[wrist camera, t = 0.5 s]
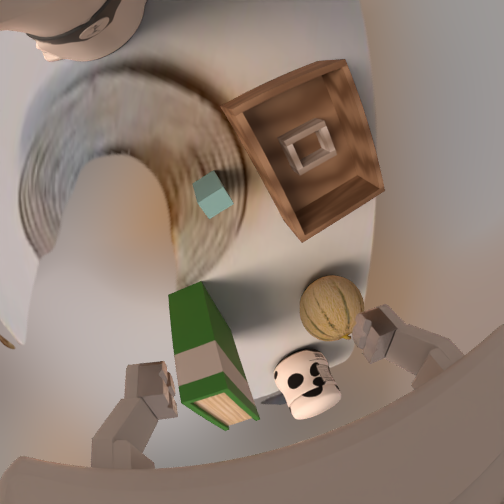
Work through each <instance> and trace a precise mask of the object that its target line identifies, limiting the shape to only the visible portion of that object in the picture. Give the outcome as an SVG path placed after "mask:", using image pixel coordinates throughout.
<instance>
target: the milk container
mask: <svg viewBox="0 0 504 504" xmlns="http://www.w3.org/2000/svg"><path fill="white" fill-rule="evenodd" d="M274 379H275V383H276V385H277V387H278V388H279V389H280V391H281V392H282V393H283V395H284V396H285V399H286V401H287V404H288V407H289V409H290V411H291V413H292V415H293V416H294V418H295V419H306V418H310V417H313V416H316V415H318V414H320V413H322V412H324V411H326V410H328V409H329V408H331V407H332V406H334V405H335V404H336V403H337V402H338V401H340V399H341V393H340V390H339V388H338V386H337V384H336V382H335V380H334V379H333V377H332V375H331V373H330V370H329V365H328V362H327V360H326V358H325V357H324V355H323V354H322V353H321V352H320V351H318V350H315V349H306V350H301V351H298V352H296V353H293V354H291V355H289V356H287V357H286V358H284V359H283V360H282V361H281V362H280V363H279V364H278V365H277V366H276V368H275V370H274Z"/></svg>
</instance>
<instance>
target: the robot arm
mask: <svg viewBox="0 0 504 504" xmlns="http://www.w3.org/2000/svg"><path fill="white" fill-rule="evenodd" d="M146 1H147V0H0V31H2V30H10V31H17V32H23V33H26V34H27V35H28V36H29V37H31V38H32V39H34V40H35V41H36V43H37V44H36V47H37V48H38V49H39V50H41V51H42V52H43V55H44V58H45V60H47V61H49V62H53V61H58V60H61V59H70V60H74V61H91V60H95V59H99V58H102V57H104V56H106V55H108V54H110V53H112V52H114V51H115V50H117V49H118V48H120V47H121V46H122V45H123V44H124V43H126V42H127V41H128V40H129V39H130V37H131V36H132V35H133V34H134V33H135V31H136V30H137V28H138V26H139V24H140V22H141V20H142V17H143V13H144V7H145V3H146ZM355 321H356V322H357V324H356V325H355V326H354V327H353V331H352V335H353V340H354V342H355V344H356V345H357V347H359V348H361V349H363V355H364V356H365V358H366V359H367V361H368V362H369V363H370V364H371V363H373V362H376V361H378V360H381V359H383V358H385V359H386V360H388V361H390V362H392V363H394V364H396V365H397V366H399V367H401V368H403V369H405V370H406V371H408V372H411V373H412V374H414V375H416V377H415V379H414V380H413V382H412V385H411V386H412V387H413V388H414V390H413V391H412V392H410V393H408V394H406V395H405V396H403V397H401V398H399V399H398V400H396V401H394V402H392V403H390V404H388V405H386V406H384V407H383V408H380V409H379V410H377V411H375V412H372V413H371V414H369V415H366V416H364V417H362V418H360V419H358V420H355V421H353V422H351V423H349V424H346V425H344V426H341V427H339V428H337V429H334V430H332V431H329V432H326V433H324V434H321V435H318V436H316V437H313V438H310V439H307V440H304V441H301V442H298V443H295V444H292V445H289V446H285V447H282V448H278V449H275V450H271V451H268V452H263V453H259V454H255V455H251V456H247V457H242V458H237V459H232V460H227V461H221V462H216V463H209V464H202V465H194V466H185V467H175V468H159V469H155V466H154V462H152V461H151V460H150V459H149V458H147V457H146V456H145V455H144V454H142V453H143V451H144V449H145V447H146V445H147V443H148V441H149V438H150V437H151V434H152V433H153V431H154V429H155V427H156V425H157V422H158V420H159V419H167V418H174V417H178V414H177V404H176V402H175V400H174V398H173V397H174V396H175V387H174V382H173V379H172V376H171V374H170V373H169V372H167V366H166V364H165V362H164V361H160V362H152V363H141V364H133V365H128V366H127V368H126V380H125V397H124V399H121V400H120V401H119V403H118V404H117V405H116V407H115V408H114V409H113V411H112V412H111V413H110V415H109V416H108V418H107V419H106V420H105V422H104V423H103V425H102V426H101V427H100V429H99V430H98V431H97V433H96V434H95V436H94V437H93V438H92V453H91V467H82V466H74V465H66V464H60V463H54V462H48V461H44V460H39V459H35V458H30V457H26V456H20V457H18V458H17V459H16V460H15V461H14V462H13V463H12V464H11V465H10V466H9V467H8V468H7V470H6V471H5V472H4V473H3V475H2V477H1V479H0V504H504V324H503V325H501V326H499V327H498V328H497V329H496V330H495V331H493V332H492V333H491V334H490V335H489V336H488V337H487V338H485V339H484V340H483V341H482V342H481V343H480V344H478V345H477V346H476V347H475V348H473V349H472V350H471V351H470V352H468V353H467V354H466V355H464V354H463V353H462V352H461V351H460V349H458V347H457V346H456V345H455V344H454V343H453V342H452V341H451V340H450V339H449V338H446V337H443V336H440V335H438V334H435V333H432V332H429V331H426V330H424V329H421V328H418V327H416V326H413V325H410V324H408V325H406V324H405V323H404V321H403V320H402V319H400V317H399V316H398V315H397V314H396V313H395V312H394V311H393V310H392V309H391V308H390V307H389V306H388V305H386V304H384V305H381V306H378V307H376V308H372V309H369V310H367V311H364V312H361V313H358V314H357V315H356V318H355Z"/></svg>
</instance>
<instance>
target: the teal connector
mask: <svg viewBox="0 0 504 504" xmlns="http://www.w3.org/2000/svg"><path fill="white" fill-rule="evenodd" d="M193 187H194V191H195V195H196V199H197V202H198V204H199V206H200V207H201V208H202V210H203V211H204V213H205V214H206V215H207V217H208V218H209V219H210V218H212V217H214V216H215V215H217V214H218V213H220V212H222V211H223V210H225V209H226V208H228V207H230V206H231V205H233V204H234V203H233V201H232V200H231V198H230V196H229V194H228V193H227V191H226V189H225V187H224V185H223V184H222V182H221V181H220V179H219V178H218V176H217V174H216V173H215V171H214V170H213V171H212V172H210V173H209V174H207V175H205V176H204V177H202V178H201V179H199V180H198V181H196V182H194V183H193Z"/></svg>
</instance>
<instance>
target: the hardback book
mask: <svg viewBox="0 0 504 504" xmlns="http://www.w3.org/2000/svg"><path fill="white" fill-rule="evenodd" d="M168 297H169V310H170V320H171V331H172V341H173V349H174V357H175V365H176V372H177V379H178V386H179V392H180V398H181V403H182V404H184V405H185V406H186V407H188V408H189V409H191V410H192V411H194V412H196V413H197V414H198V415H200V416H202V417H203V418H205V419H206V420H208V421H210V422H211V423H213V424H215V425H216V426H218V427H220V428H221V429H223V430H225V431H226V430H229V425H232V424H235V423H238V422H241V421H244V420H247V419H250V418H253V419H254V420H256V421H257V420H260V417H259V415H258V412H257V409H256V406H255V403H254V400H253V397H252V394H251V391H250V388H249V385H248V382H247V379H246V376H245V373H244V370H243V367H242V364H241V361H240V358H239V355H238V352H237V349H236V345H235V342H234V339H233V336H232V333H231V330H230V328H229V327H228V325H227V323H226V322H225V320H224V319H223V317H222V315H221V314H220V312H219V310H218V309H217V307H216V305H215V304H214V302H213V300H212V299H211V297H210V295H209V294H208V292H207V290H206V288H205V287H204V285H203V283H202V282H201V281H200V282H198V283H196V284H193V285H191V286H188V287H186V288H184V289H181V290H179V291H176V292H174V293H172V294H169V295H168Z"/></svg>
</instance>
